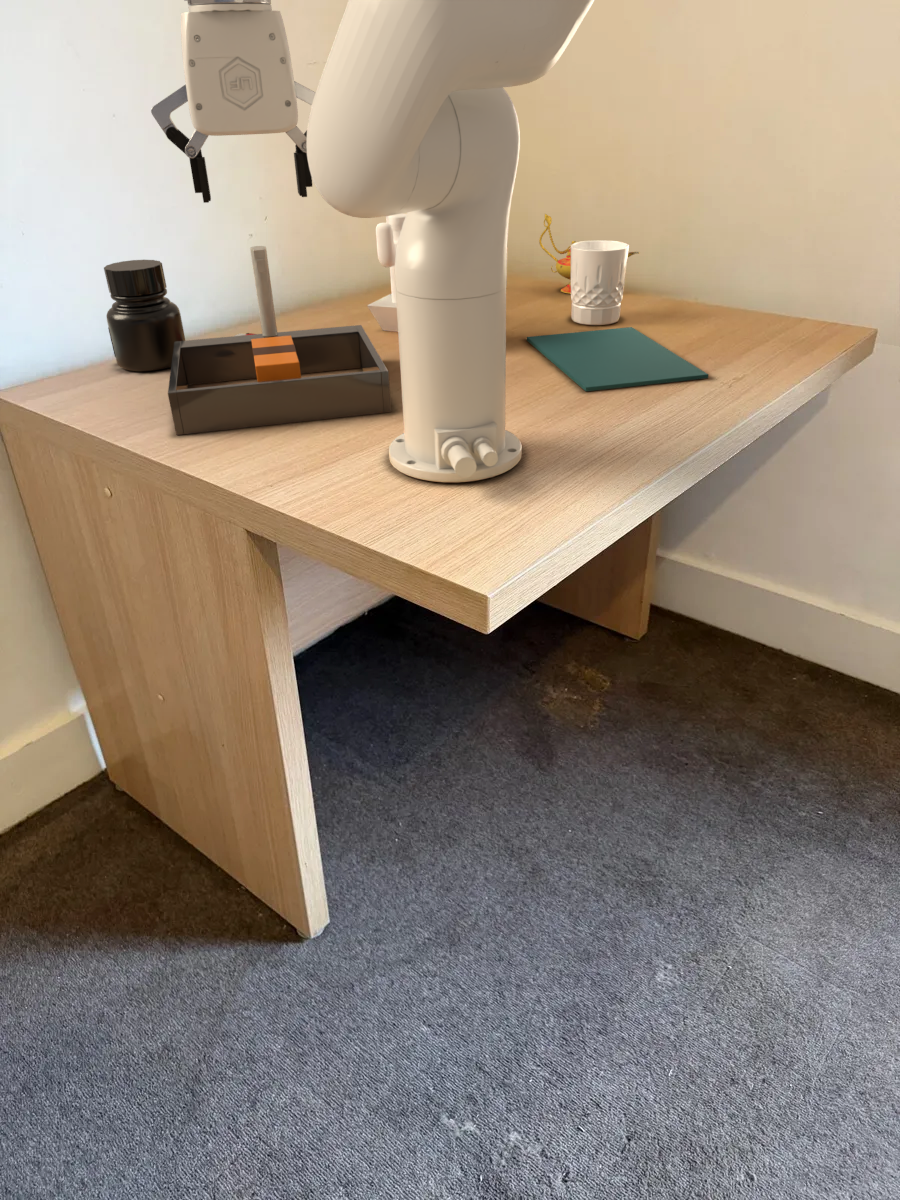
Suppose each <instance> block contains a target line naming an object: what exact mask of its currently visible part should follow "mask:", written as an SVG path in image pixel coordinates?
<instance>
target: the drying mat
mask: <svg viewBox="0 0 900 1200" xmlns="http://www.w3.org/2000/svg"><path fill="white" fill-rule="evenodd" d="M526 341H527V343H529V345H531V346H532V347H534V348H535V349H536V350H537V351H538V352H539V353H540V354H541V355H543V357H545V358H546V359H547V360H548V361H550V362H551V363H552V364H553V365H554V366H555V367H557V368H558V369H559V370H560V371H561V372H563V373H564V374H565V375H566V376H567V377H568V378H569V379H571V380H572V381H573V382H574V383H575V384H576V385H578V386H579V387H580V388H581V389H582V390H583V391H584V392H596V391H605V390H614V389H623V388H631V387H641V386H649V385H659V384H669V383H677V382H687V381H695V380H706V379H709V373H707V372H706V371H704V370H702V369H701V368H699V367H697V366H695V364H692V363H691V362H689V361H688V360H686V359H684V358H683V357H681V356H680V355H678V354H676V353H675V352H673V351H672V350H670V349H668V348H666V347H665V346H663V345H661V343H658V342H657V341H655V340H653V339H652V338H650V337H649V336H647V335H646V334H644V333H642V332H640V331H639V330H637V329H636V328H634V327H633V326H628V327H627V326H626V327H617V328H605V329H597V330H596V329H595V330H587V331H586V330H585V331H584V330H583V331H574V332H565V333H555V334H553V333H552V334H544V335H543V334H542V335H532V336H526Z"/></svg>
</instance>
